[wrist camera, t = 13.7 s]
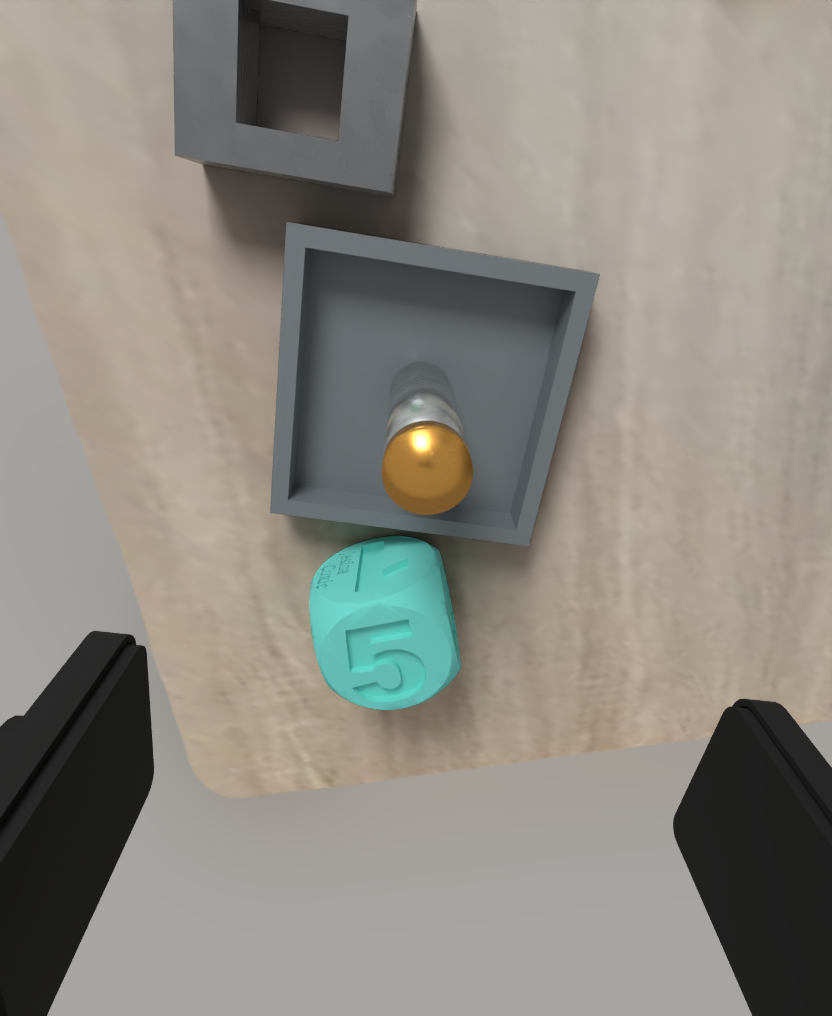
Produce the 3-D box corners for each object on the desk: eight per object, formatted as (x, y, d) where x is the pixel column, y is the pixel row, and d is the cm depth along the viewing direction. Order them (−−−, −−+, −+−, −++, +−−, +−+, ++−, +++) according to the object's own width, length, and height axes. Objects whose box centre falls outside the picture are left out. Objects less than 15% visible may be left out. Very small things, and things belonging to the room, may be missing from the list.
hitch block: (416, 9, 28) (417, -24, 25) (393, 197, 32) (391, 193, 28) (202, -33, 28) (171, -73, 24) (202, 164, 31) (174, 155, 27)
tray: (584, 270, 33) (600, 274, 31) (520, 524, 40) (528, 546, 37) (296, 222, 32) (286, 222, 29) (279, 493, 39) (270, 512, 36)
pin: (455, 366, 35) (481, 436, 23) (445, 425, 36) (464, 520, 24) (394, 357, 35) (387, 423, 23) (386, 417, 36) (376, 508, 24)
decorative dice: (434, 525, 40) (441, 590, 33) (456, 621, 43) (466, 700, 36) (319, 547, 41) (300, 616, 33) (349, 641, 44) (337, 722, 37)
